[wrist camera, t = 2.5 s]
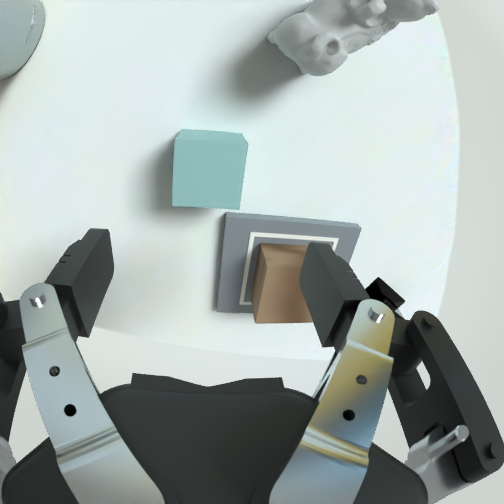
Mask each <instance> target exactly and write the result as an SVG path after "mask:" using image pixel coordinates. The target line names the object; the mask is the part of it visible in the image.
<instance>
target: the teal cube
mask: <svg viewBox="0 0 504 504" xmlns="http://www.w3.org/2000/svg"><path fill="white" fill-rule="evenodd" d="M247 150H248V143H247V141H246V140H245V138H244V136H243V135H242V133H232V132H221V131H207V130H189V129H182V130H181V132H180V133H179V134H178V136H177V137H176V138H175V143H174V161H173V185H172V206H184V207H203V208H221V209H236V210H239V208H240V201H241V193H242V186H243V178H244V171H245V164H246V157H247Z"/></svg>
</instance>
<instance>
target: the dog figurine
mask: <svg viewBox="0 0 504 504" xmlns="http://www.w3.org/2000/svg"><path fill="white" fill-rule="evenodd" d="M438 10H439V5H438V3H437V1H436V0H314V1H313V2H312V3H311V4H310V5H309V6H308V7H307V8H306V9H305V10H304V11H303V12H302V13H296V14H292V15H291V16H289V17H287V18H286V19H284V20H283V21H282V22H281V23H280V24H279V25H278V27H277V28H276V29H275V30H274V31H271V32H270V33H269V34H268V36H267V38H268V41H269V42H270V43H272V44H277V46H278V47H279V49H280V50H281V51H282V52H283V53H284V54H285V55H286V56H287V57H288V58H289V59H291V60H293V61H294V62H295V63H296V64H297V65H298V69H299V71H300V72H301V73H302V74H308V73H309V74H311V75H314V76H322V75H326V74H329V73H331V72H333V71H334V70H336V69H337V68H338V67H339V66H341V64H343V62H344V61H345V60H346V59H347V54H350V53H352V52H355V51H357V50H358V49H360V48H362V47H364V46H366V45H371V44H372V43H374V42H375V41H377V40H379V39H380V38H381V36H383V35H385V34H386V33H388V32H389V31H391V30H392V29H394V28H395V27H396V26H397V25H398V24H399V22H412V21H417V20H420V19H422V18H424V17H425V16H426V15H431V14H434V13H435V12H437V11H438Z"/></svg>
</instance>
